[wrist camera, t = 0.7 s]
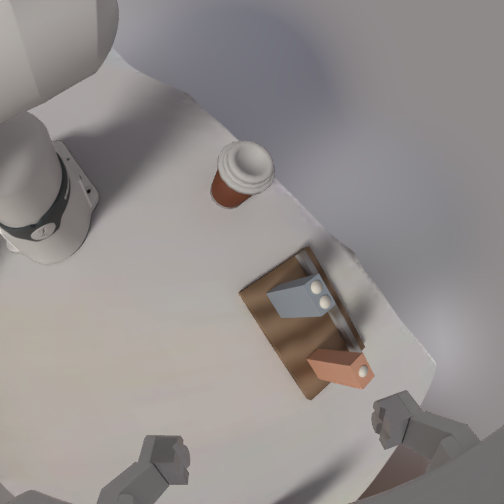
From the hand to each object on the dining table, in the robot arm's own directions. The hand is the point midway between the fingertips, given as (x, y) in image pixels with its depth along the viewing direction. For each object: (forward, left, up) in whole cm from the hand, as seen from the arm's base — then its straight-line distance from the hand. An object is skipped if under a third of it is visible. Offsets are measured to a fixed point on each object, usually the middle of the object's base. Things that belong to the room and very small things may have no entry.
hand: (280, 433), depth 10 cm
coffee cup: (-18, +22, -36) cm, 46 cm away
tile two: (+3, +19, -34) cm, 39 cm away
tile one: (+17, +19, -34) cm, 42 cm away
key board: (+10, +22, -36) cm, 43 cm away
